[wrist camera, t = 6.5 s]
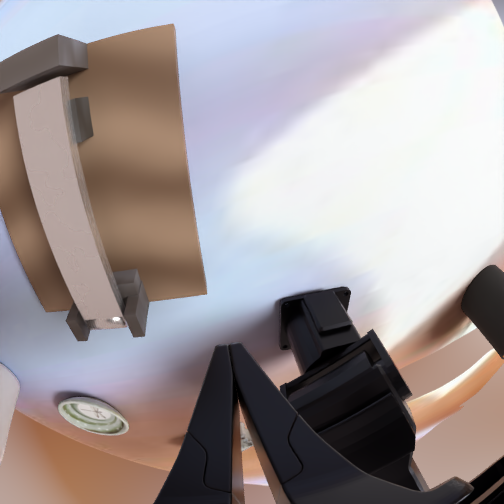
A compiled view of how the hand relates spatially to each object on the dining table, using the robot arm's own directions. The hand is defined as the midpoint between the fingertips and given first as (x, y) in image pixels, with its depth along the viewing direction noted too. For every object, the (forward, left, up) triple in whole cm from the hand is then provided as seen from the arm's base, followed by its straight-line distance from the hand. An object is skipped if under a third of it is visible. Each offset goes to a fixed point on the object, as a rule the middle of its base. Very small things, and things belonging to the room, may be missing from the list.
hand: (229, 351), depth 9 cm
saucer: (-24, +19, -12) cm, 33 cm away
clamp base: (+3, +8, -12) cm, 15 cm away
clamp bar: (+2, +8, -9) cm, 12 cm away
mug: (-17, -36, -12) cm, 42 cm away
